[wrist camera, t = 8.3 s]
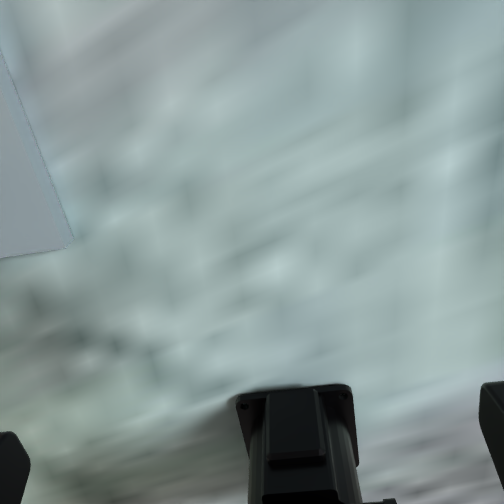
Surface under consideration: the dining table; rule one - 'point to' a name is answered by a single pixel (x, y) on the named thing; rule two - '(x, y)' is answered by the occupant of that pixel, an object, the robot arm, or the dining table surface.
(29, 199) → the mat
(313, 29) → the dining table surface
